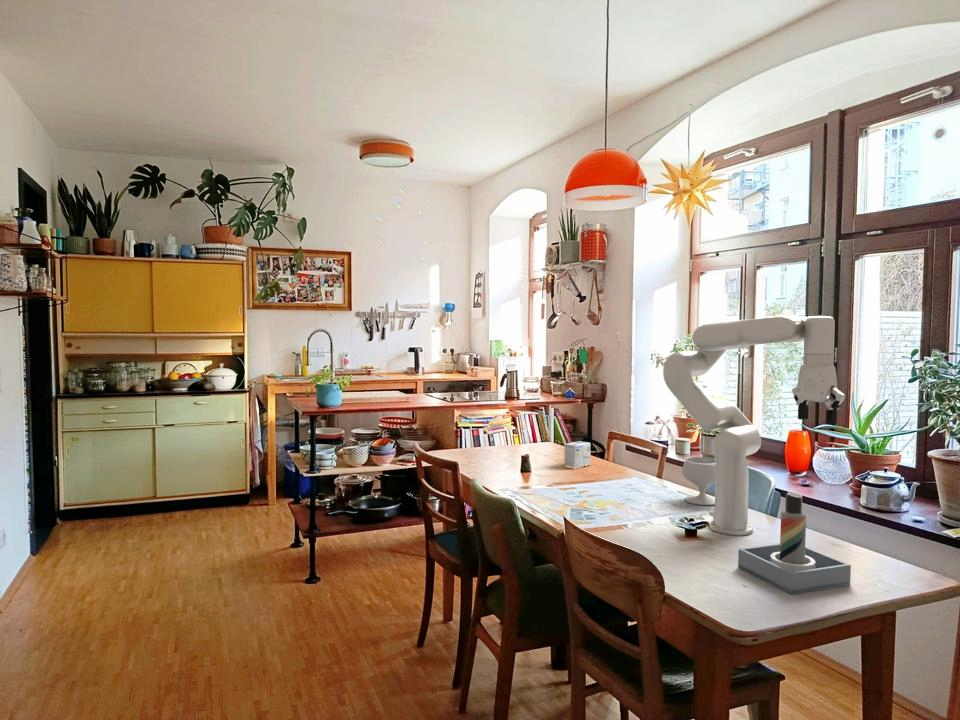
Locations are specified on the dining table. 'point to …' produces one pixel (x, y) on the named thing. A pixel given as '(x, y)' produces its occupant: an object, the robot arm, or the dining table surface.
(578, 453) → the light bulb box
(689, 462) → the chalice
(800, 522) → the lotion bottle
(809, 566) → the socket box
